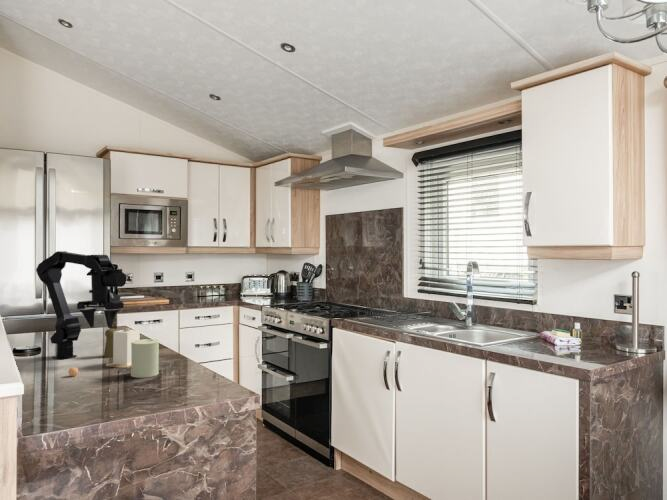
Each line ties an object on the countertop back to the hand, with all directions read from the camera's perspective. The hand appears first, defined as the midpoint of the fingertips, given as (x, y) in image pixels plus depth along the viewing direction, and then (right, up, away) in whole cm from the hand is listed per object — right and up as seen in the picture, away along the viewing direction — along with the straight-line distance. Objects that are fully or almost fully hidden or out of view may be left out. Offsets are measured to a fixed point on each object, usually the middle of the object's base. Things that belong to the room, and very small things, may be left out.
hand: (100, 327), depth 197 cm
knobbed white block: (+12, -13, -5) cm, 18 cm away
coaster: (+12, -13, -5) cm, 18 cm away
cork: (0, -13, +9) cm, 16 cm away
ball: (+1, -13, -23) cm, 26 cm away
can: (+24, -14, -19) cm, 34 cm away
